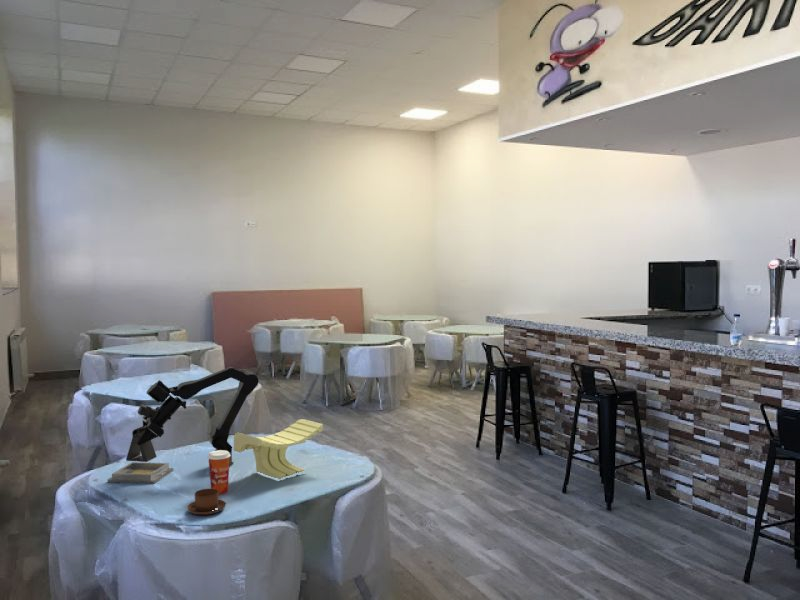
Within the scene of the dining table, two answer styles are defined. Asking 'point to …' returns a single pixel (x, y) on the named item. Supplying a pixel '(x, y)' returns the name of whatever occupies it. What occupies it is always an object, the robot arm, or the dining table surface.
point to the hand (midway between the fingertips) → (137, 442)
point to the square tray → (141, 473)
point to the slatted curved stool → (277, 447)
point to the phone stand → (140, 448)
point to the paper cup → (219, 470)
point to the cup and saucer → (206, 502)
